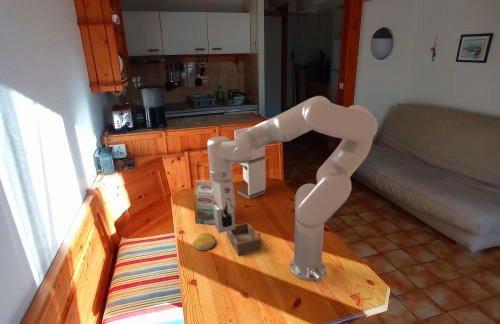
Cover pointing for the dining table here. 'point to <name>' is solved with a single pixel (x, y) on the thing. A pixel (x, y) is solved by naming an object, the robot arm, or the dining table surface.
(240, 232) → the open box
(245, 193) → the light grey boxy piece
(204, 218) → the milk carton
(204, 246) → the bread roll
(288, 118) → the robot arm
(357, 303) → the dining table surface
